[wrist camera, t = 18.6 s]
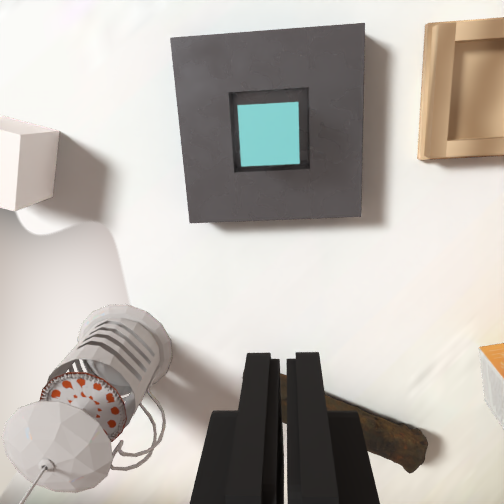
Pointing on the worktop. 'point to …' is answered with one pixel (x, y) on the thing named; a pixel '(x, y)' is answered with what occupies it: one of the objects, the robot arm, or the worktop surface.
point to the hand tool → (378, 433)
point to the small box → (493, 378)
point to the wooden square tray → (462, 90)
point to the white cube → (26, 163)
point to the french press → (90, 402)
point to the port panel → (263, 92)
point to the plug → (269, 134)
